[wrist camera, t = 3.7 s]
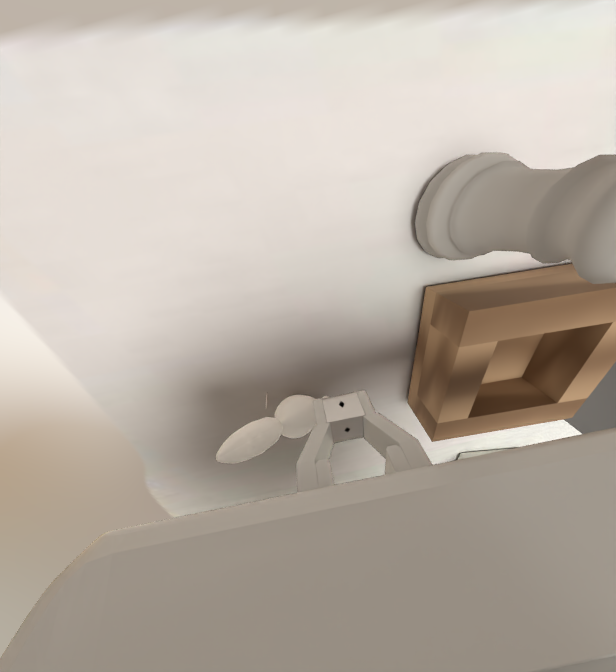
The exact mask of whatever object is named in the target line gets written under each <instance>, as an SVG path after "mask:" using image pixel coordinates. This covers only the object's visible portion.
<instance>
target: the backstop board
mask: <svg viewBox="0 0 616 672" xmlns="http://www.w3.org/2000/svg"><path fill="white" fill-rule="evenodd" d="M564 420H565V421H566V422H568V423H569V424H570V425H572V426H573V427H574V428H576V429H577V430H578V431H580V432H581V433H582V434H587V433H591V432H596V431H601V430H606V429H611V428H616V362H615V363H614V364H613V366H612V367H611V368H610V370H609V371H608V372H607V373H606V375H605V376H604V377H603V379H602V380H601V381H600V382H599V384H598V385H597V386H596V388H595V389H594V390H593V391H592V393H591V394H590V395H589V397H588V398H587V399H586V400H585V402H584V403H583V404H582V406H581V407H580V408H579V410H578V411H577V412H576V413H575V415H574V416H573V417H572V418H568V419H564Z"/></svg>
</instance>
